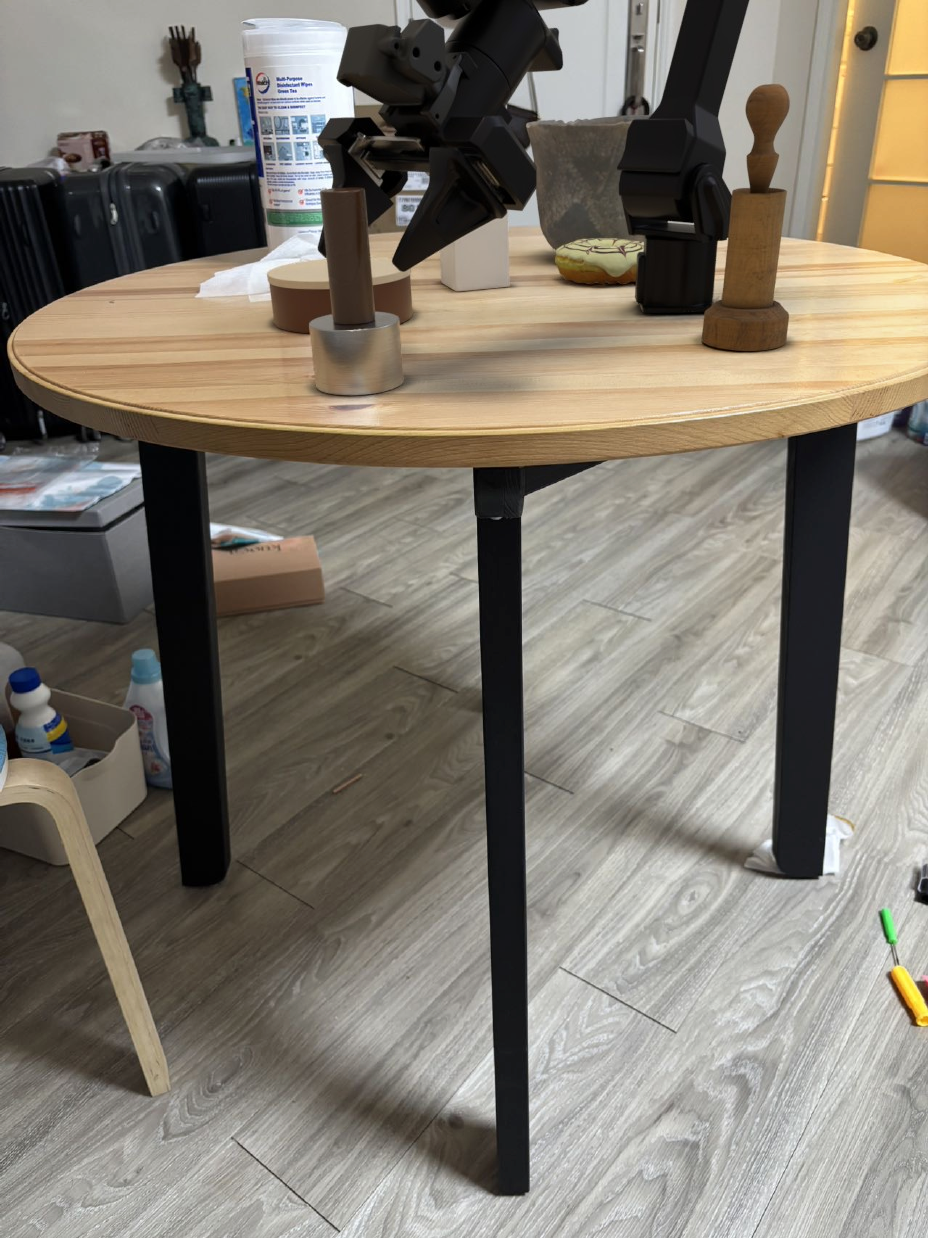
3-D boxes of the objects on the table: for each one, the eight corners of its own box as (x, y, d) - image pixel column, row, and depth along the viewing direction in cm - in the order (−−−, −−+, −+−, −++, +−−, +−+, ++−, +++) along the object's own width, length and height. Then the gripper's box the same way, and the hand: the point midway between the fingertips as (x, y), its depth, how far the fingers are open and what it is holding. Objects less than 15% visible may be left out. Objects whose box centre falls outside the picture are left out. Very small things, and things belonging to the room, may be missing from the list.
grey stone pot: (550, 245, 127) (551, 117, 120) (685, 246, 122) (695, 112, 114) (510, 267, 113) (508, 123, 105) (662, 270, 107) (670, 118, 100)
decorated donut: (628, 290, 98) (630, 251, 96) (537, 283, 103) (537, 245, 101) (671, 273, 105) (674, 236, 103) (584, 267, 111) (585, 232, 109)
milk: (455, 292, 101) (444, 47, 90) (440, 283, 106) (428, 49, 95) (511, 286, 102) (506, 44, 91) (493, 277, 107) (487, 47, 96)
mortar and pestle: (774, 354, 73) (806, 83, 64) (690, 347, 76) (710, 86, 67) (794, 335, 78) (826, 81, 69) (715, 329, 81) (736, 84, 72)
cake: (422, 303, 96) (419, 255, 94) (402, 332, 85) (398, 279, 82) (293, 305, 97) (287, 258, 95) (256, 335, 86) (248, 282, 84)
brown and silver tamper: (409, 371, 73) (397, 183, 67) (396, 395, 67) (381, 192, 61) (326, 372, 74) (306, 186, 67) (306, 396, 68) (282, 195, 62)
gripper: (326, -12, 68) (208, 172, 67) (501, -44, 55) (357, 182, 55) (421, 110, 76) (317, 275, 75) (593, 106, 63) (469, 305, 63)
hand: (358, 260), depth 67 cm, fingers open, 9 cm apart
